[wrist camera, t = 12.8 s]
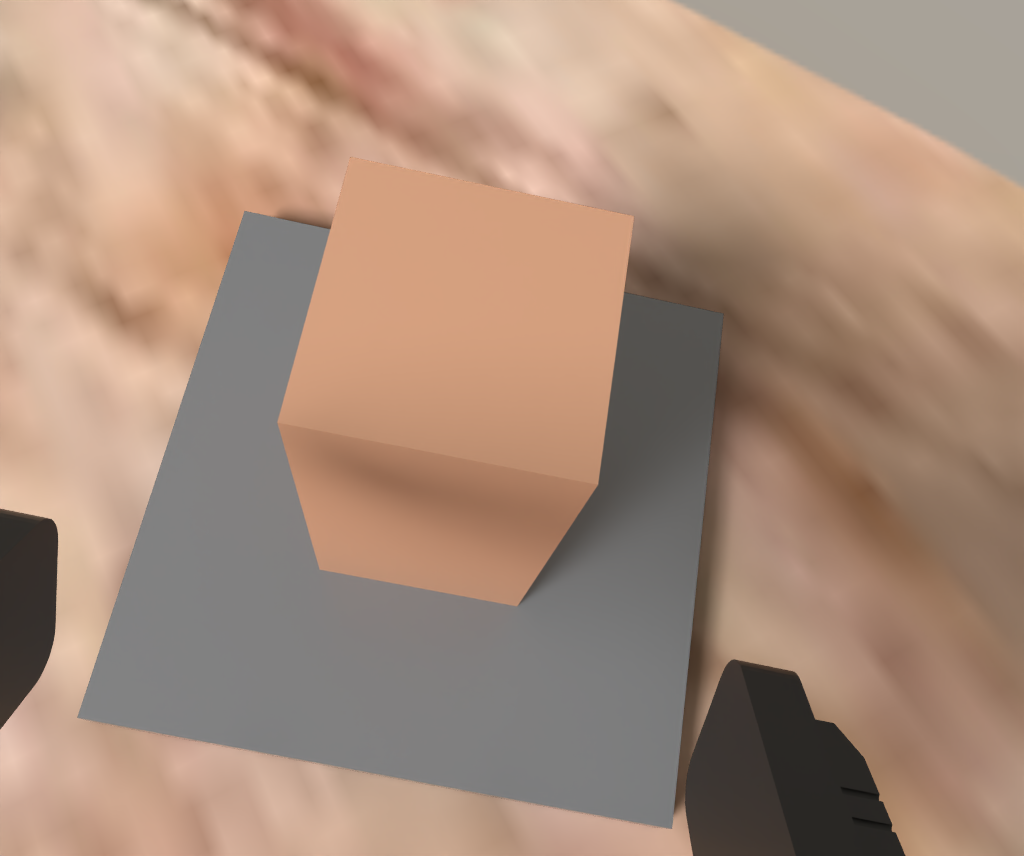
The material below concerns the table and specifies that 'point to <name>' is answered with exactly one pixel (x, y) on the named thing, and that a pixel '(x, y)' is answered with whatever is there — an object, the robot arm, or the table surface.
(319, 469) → the terracotta block
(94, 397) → the table surface
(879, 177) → the table surface
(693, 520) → the slate tile
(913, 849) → the table surface
